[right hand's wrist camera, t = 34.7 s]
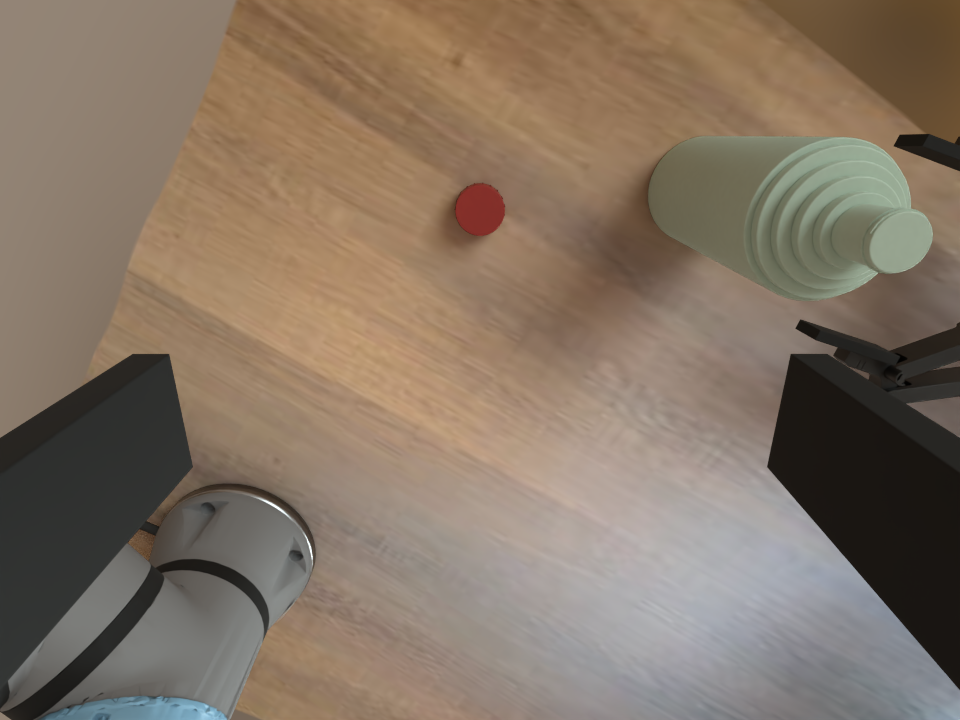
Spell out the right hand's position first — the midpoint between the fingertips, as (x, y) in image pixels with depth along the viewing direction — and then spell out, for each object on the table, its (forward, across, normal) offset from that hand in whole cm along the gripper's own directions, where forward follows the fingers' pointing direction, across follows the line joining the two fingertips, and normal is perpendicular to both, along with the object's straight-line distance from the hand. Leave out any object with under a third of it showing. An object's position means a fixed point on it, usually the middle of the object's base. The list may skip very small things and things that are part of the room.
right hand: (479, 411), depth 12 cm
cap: (+35, 0, 0) cm, 35 cm away
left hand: (+29, +26, -1) cm, 39 cm away
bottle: (+37, +18, +1) cm, 41 cm away
